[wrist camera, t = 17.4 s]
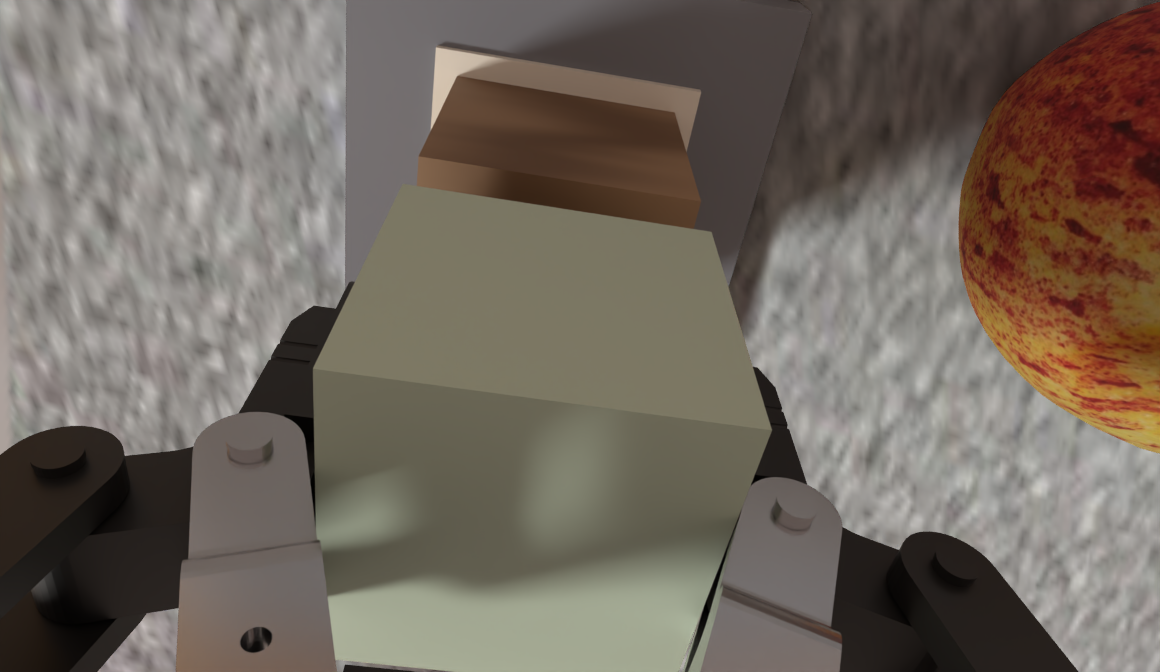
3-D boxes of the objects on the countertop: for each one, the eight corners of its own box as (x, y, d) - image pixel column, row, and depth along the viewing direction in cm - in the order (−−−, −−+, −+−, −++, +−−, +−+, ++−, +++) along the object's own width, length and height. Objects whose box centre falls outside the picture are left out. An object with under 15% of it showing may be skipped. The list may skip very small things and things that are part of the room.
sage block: (711, 232, 13) (772, 429, 9) (646, 459, 16) (670, 694, 12) (402, 184, 13) (312, 368, 8) (391, 426, 15) (317, 657, 11)
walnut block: (674, 112, 18) (701, 201, 14) (631, 297, 21) (642, 417, 17) (456, 75, 18) (418, 155, 14) (440, 269, 21) (404, 385, 16)
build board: (799, 2, 18) (814, 15, 17) (695, 355, 24) (700, 383, 23) (360, -78, 18) (344, -70, 16) (355, 308, 23) (343, 334, 22)
